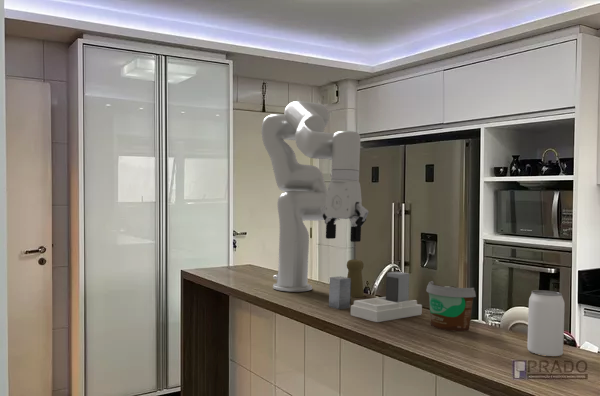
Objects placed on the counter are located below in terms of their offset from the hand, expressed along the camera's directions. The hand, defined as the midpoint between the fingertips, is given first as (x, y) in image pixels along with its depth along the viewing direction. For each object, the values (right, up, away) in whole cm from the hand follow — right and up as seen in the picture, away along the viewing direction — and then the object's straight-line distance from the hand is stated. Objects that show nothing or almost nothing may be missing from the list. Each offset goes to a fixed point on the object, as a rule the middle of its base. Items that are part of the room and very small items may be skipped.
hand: (342, 239), depth 144 cm
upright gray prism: (-1, -18, 0) cm, 18 cm away
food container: (+22, -19, -20) cm, 35 cm away
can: (+37, -20, -39) cm, 57 cm away
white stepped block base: (+11, -19, -8) cm, 23 cm away
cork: (+5, -19, +19) cm, 27 cm away
